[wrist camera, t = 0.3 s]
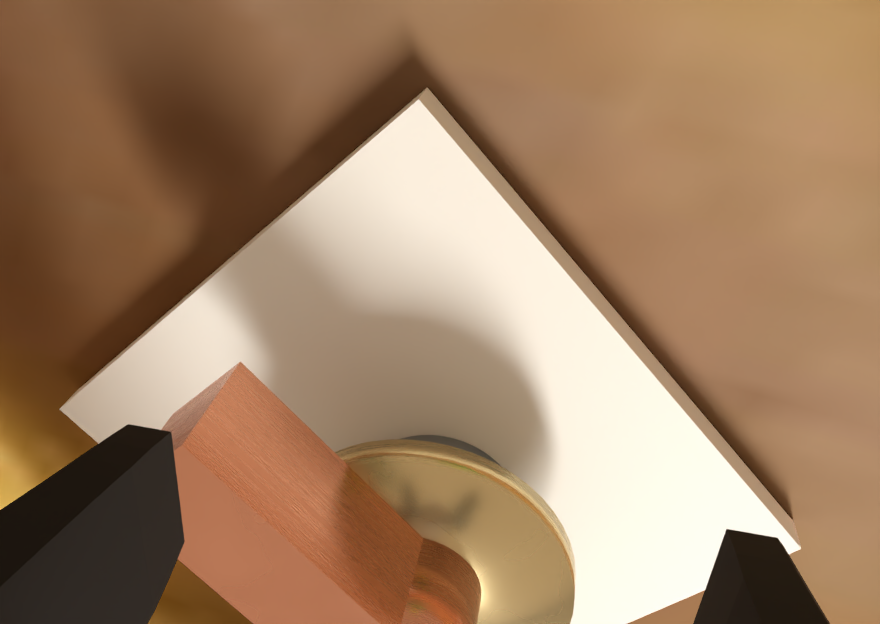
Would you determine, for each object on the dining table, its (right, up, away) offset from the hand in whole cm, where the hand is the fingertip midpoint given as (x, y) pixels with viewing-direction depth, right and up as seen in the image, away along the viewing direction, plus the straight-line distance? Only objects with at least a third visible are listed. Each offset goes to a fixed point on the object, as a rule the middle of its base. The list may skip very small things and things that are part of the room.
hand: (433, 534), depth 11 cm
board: (0, -1, +13) cm, 13 cm away
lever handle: (-1, -2, +10) cm, 10 cm away
